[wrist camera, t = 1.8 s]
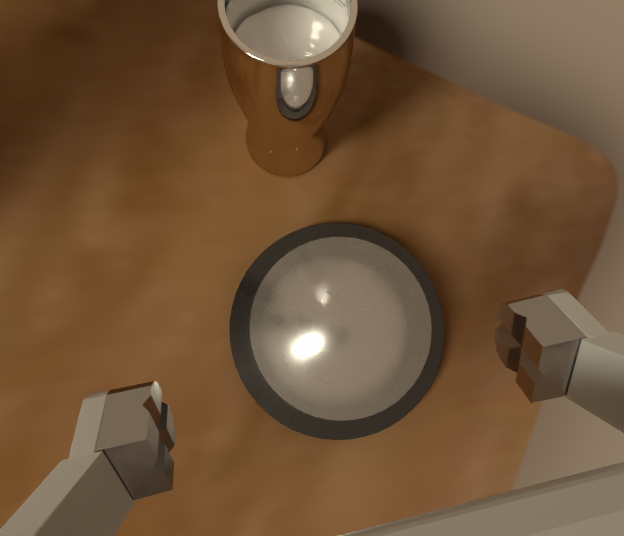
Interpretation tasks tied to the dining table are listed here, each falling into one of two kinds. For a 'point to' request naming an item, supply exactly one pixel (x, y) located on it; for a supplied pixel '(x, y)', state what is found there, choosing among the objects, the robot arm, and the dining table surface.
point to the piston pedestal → (336, 331)
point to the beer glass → (287, 74)
